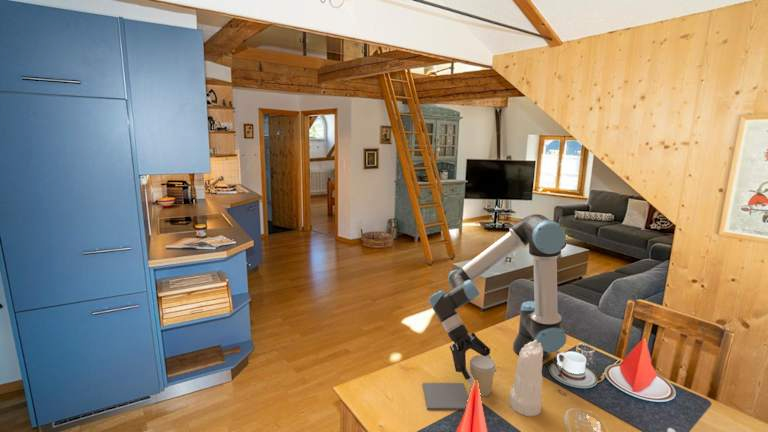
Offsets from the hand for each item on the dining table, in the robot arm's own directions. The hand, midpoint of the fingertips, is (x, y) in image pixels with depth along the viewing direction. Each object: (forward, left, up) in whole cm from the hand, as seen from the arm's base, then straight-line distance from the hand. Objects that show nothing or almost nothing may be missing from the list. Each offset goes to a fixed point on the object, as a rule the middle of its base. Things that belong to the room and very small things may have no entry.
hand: (485, 379), depth 149 cm
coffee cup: (+1, -1, -6) cm, 6 cm away
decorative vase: (-13, +8, -6) cm, 16 cm away
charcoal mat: (+15, +3, -5) cm, 16 cm away
